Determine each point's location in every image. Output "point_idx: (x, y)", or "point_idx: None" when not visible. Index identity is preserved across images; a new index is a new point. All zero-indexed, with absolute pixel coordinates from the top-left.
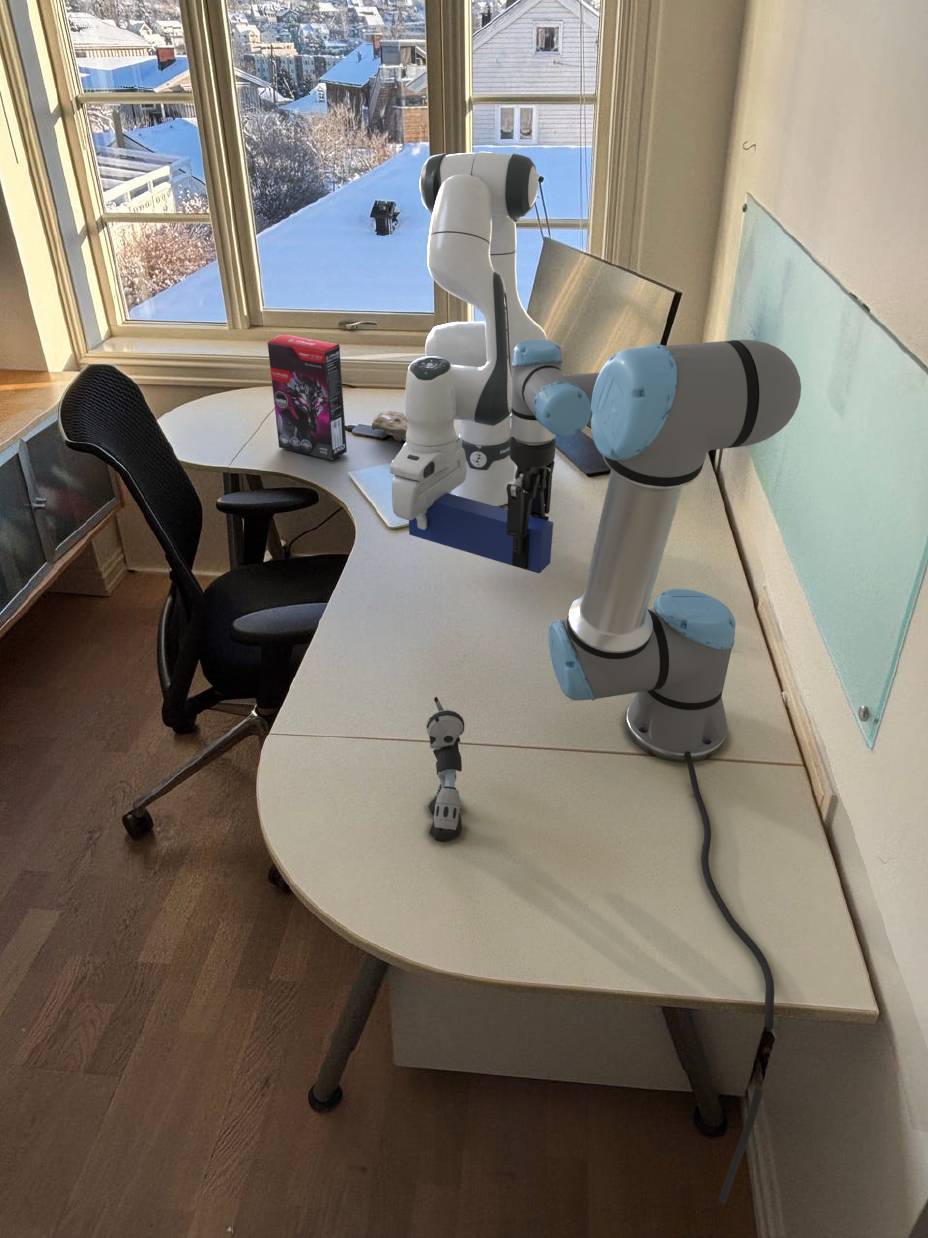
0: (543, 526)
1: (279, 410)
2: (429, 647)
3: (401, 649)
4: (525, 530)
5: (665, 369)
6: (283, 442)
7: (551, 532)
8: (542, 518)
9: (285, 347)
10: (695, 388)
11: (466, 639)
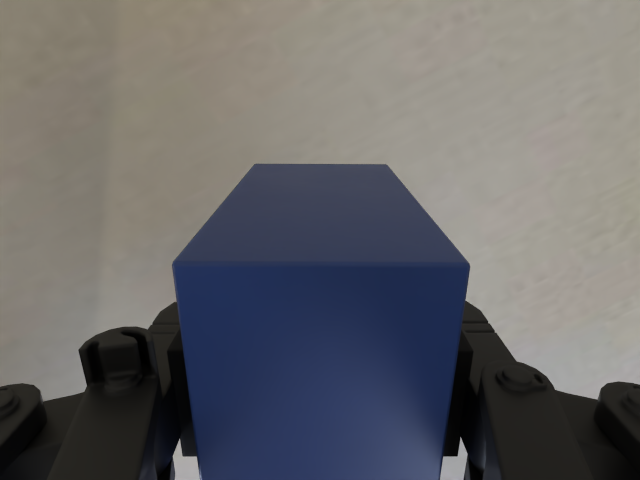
0: (331, 306)
1: None
2: (592, 323)
3: (622, 370)
4: (542, 411)
5: None
6: None
7: (232, 222)
8: (147, 383)
9: None
10: None
11: (523, 265)
